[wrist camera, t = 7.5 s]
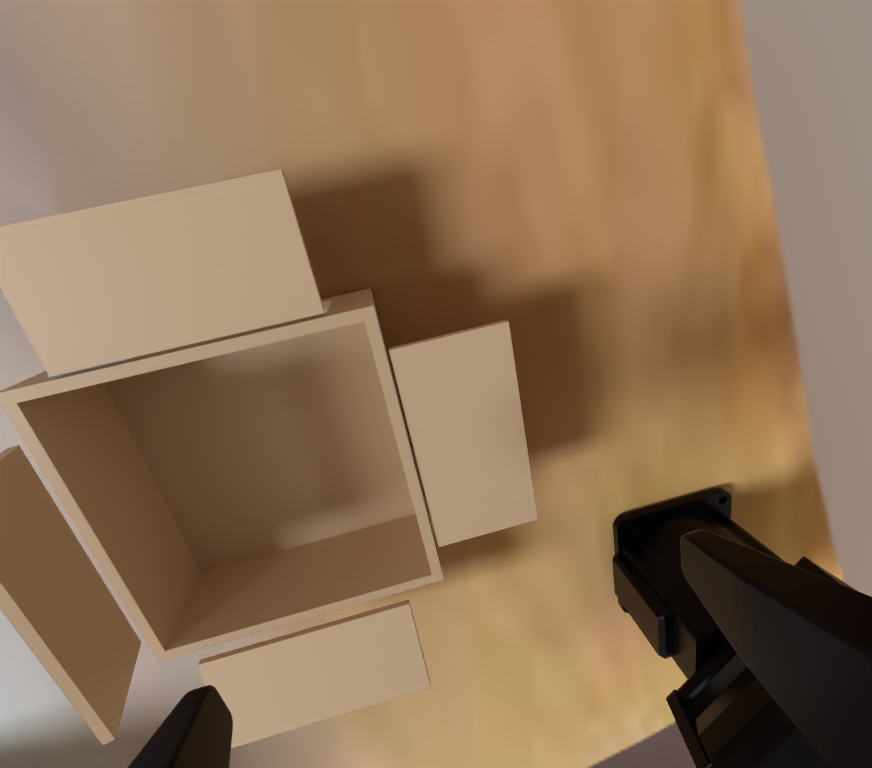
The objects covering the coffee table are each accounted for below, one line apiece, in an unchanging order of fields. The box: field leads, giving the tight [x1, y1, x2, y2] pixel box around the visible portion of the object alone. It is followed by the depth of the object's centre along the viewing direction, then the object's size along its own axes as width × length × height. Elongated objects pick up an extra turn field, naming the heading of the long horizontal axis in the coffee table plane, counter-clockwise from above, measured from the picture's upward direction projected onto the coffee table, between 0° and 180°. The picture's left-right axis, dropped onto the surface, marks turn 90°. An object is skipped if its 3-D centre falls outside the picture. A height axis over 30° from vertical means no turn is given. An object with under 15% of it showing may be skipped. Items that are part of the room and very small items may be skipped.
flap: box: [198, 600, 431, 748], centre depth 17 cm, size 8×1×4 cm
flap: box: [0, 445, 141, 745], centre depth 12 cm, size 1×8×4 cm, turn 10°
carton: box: [0, 169, 538, 662], centre depth 16 cm, size 15×15×4 cm
